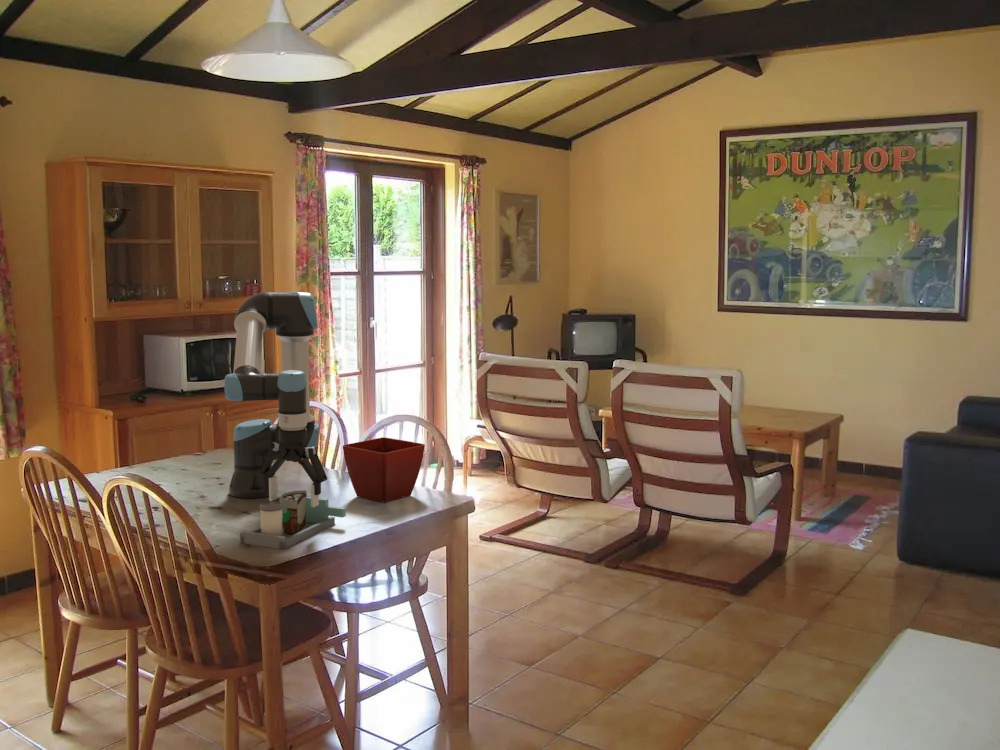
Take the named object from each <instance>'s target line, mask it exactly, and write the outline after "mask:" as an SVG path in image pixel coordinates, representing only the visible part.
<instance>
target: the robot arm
mask: <svg viewBox="0 0 1000 750" xmlns="http://www.w3.org/2000/svg"><path fill="white" fill-rule="evenodd" d="M317 316H318V315H317V311H316V305H315V297H314V295H313V294H312V293H310V292H303V291H273V292H271V291H261V292H259V293H256V294H253V295H251V296H250V297H248V298H246V300H244V301H243V302H242V304H241V305H240V306H239V307H238V308H237V311H236V313H235V315H234V320H233V321H234V322H233V326H234V329H235V332H236V336H235V337H236V338H235V347H234V348H235V350H234V361H233V362H234V363H233V373H228V374H225V376H224V381H223V382H224V397H225V399H226V400H227V401H232V402H234V401H235V402H238V401H239V402H246V401H247V402H248V401H249V402H250V401H252V402H253V401H255V402H257V401H277V402H278V404H277V405H278V410H277V411H278V413H277V415H278V416H277V423H272V421H271V420H270V418H269V419H268V418H260V419H259V418H258V419H252V420H247V421H243V422H240V423H238V424H237V425H235V427H234V429H233V439H232V441H233V465H234V466H233V468H234V469H233V473H232V476H231V479H230V484H229V487H228V491H229V492H228V494H229V495H230V496H231V497H234V498H240V499H258V498H259V499H260V498H265V497H268V502H274V501H275V500H277V499H278V491H279V490H278V487H279V486H278V476H277V475H276V474H277V471H279V469H280V468H281V467H282V465H283V464H284V463H285V461H286V462H293V463H298V464H299V465H300V466H301V467H302V468H303V470H304V471H305V473H306V474H307V476H308V477H309V479H310V480H311V482H312V483H310V497H311V507H315V506H317V505H319V498H320V495H321V493H322V483H323V482H326V481H327V480H328V476H327V474H326V471H325V469H324V466H323V464H322V462H321V460H320V457H319V454H318V444H319V443H318V442H319V432H320V423H318V422H315V420H316V419H315V417H314V416H313V415H312V414H311V412H310V411H311V410H310V407H311V406H310V400H311V399H310V339H311V338H312V337H313V336H314V330H315V331H316V330H317V329H318V328H319V325H318V318H317ZM266 330H275V335H276V336H277V338H278V339H279V341H280V345H281V346H280V347H281V348H280V350H281V353H280V355H281V371H280V372H279V373H278V372H277V373H274V372H273V373H261V372H262V353H263V337H264V336H263V334H264V333H265V331H266ZM274 461H275V462H274ZM273 462H274V463H273Z"/></svg>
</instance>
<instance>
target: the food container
mask: <svg viewBox="0 0 1000 750" xmlns="http://www.w3.org/2000/svg"><path fill="white" fill-rule="evenodd" d="M307 494H308V493H307V490H306V489H305V490H293V491H292V490H291V491H287V492H285V493H283V494H281V495H280V498H279V501H278V502H280V503H282V517H283V526H284V533H286V534H288V535H293V534H295V533H298V532H300V531H302V530H303V529H304V528H305V527H306V497H307V496H308V495H307Z"/></svg>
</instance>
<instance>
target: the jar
mask: <svg viewBox="0 0 1000 750" xmlns="http://www.w3.org/2000/svg"><path fill="white" fill-rule="evenodd" d="M259 510H260V511H259V512H260V513H259V514H260V527H261V533H263V534H270V535H277V536H283V535H282V517H283V516H282V503H280V502H279V501H267V502H263V503H260V504H259Z"/></svg>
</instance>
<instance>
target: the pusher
mask: <svg viewBox="0 0 1000 750" xmlns="http://www.w3.org/2000/svg"><path fill="white" fill-rule="evenodd" d="M346 511H347V510H346V507H341V506H335V505H334V506H333V505H329V498H323V497H319V505H317V506H315V507H311V496H308V495H307V497H306V522H311V523H319V522H321V521H323V520H325V519H327V518H329V517H336V518H345V517H346V515H347V514H346V513H347V512H346Z"/></svg>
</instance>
